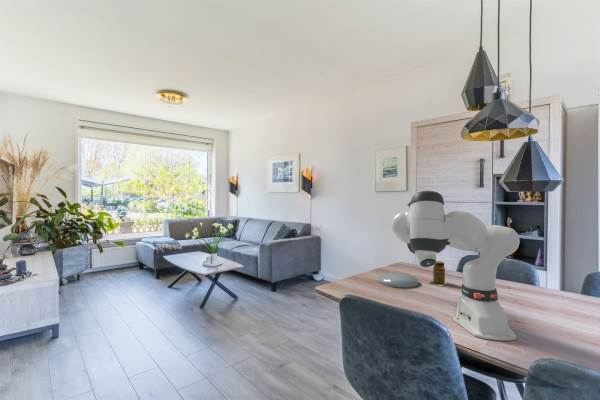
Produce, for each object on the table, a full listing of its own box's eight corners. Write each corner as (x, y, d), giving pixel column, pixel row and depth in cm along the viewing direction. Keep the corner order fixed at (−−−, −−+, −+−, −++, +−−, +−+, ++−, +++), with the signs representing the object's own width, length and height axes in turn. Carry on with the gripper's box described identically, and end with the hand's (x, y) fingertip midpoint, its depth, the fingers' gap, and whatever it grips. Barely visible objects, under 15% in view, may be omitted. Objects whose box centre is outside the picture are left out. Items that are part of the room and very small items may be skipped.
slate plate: (423, 288, 157) (423, 285, 157) (380, 287, 161) (380, 283, 161) (413, 277, 179) (413, 273, 179) (376, 275, 182) (376, 272, 182)
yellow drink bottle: (447, 283, 167) (447, 262, 167) (441, 286, 161) (441, 264, 161) (434, 280, 172) (434, 260, 172) (428, 283, 166) (428, 262, 166)
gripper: (409, 226, 143) (405, 210, 155) (419, 255, 153) (414, 238, 164) (423, 223, 141) (417, 206, 152) (432, 253, 150) (426, 235, 162)
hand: (416, 223), depth 158 cm, fingers open, 8 cm apart
